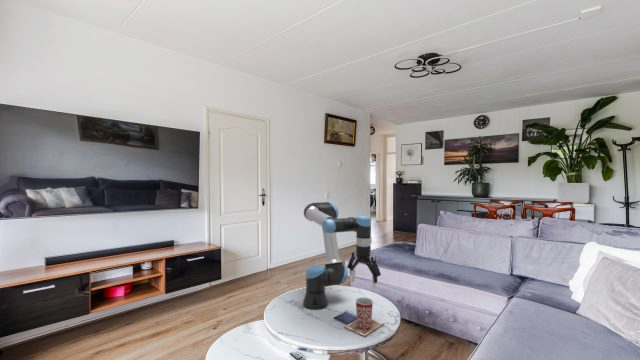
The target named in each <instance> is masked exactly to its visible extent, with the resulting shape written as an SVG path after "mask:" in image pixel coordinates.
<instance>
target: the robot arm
mask: <svg viewBox="0 0 640 360" xmlns="http://www.w3.org/2000/svg"><path fill="white" fill-rule="evenodd" d="M303 216H304V218H305V219H306V220H308V221H310V222H314V223H315V224H317V225H319V226H321V229H322V235H323V236H322V237H323V243H324V251H325V258H326V262H325V264H324V265H323V264H314V265H311V266H309V267H307V269H306V271H305V273H306V274H305V295H304V299H303V301H302V303H303V307H304V308H305V309H308V310H314V311H315V310H322V309H325V308H327V307H328V305H329V304H328V298H327V295H326V291H325V290H326V289H325V288H326V287H331V286H339V285H342V284H345V283H346V282H347V279H348V276H349V275H350V283H355V282H356V269H355V268H356V267H357V266H358V265H359V263H361V264H363V265H364V264H365V266H367V268H368V269H369V271H370V273H371V274H372V276H371V290H375V289H377V283H378V277H380V276H381V271H380V268H379V266H378V263H377V261H376V260H377V259H376V256H374V255H373V256H371V251H372V249H371V247H372V246H371V245H372V243H371V240H372V239H371V234H372V233H371V232H372V226H371V225H372V222H371V220H372V219H371V217H370V216H367V215H358V216H356V217H354V216H348V217H345V218H344V217H343V218H342V217H341V218H338V217H339V208H338V206H337V204H336V203H334V202H332V201H331V202H330V201H326V202H325V201H324V202H311V203H309V204H307V205H305V207H304V209H303ZM347 232H354V233H355V234H356V236H355V238H356V247H355V248H356V249H355V250H356V251H354V252H352V253H351V257H350V259H349V261H348V264H347V266H346V265H345V264H344V263H343V261H342V260H341V257H340V252H339V246H338V238H337V233H347ZM348 269H349V272H348ZM348 273H349V274H348Z"/></svg>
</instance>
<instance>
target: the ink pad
mask: <svg viewBox="0 0 640 360" xmlns="http://www.w3.org/2000/svg"><path fill="white" fill-rule="evenodd" d="M333 320H335V321H338V322H340V323H342V324H344V325H345V326H347V325H349V324H350V323H352V322H354V321H356V320H357V315H354V314H351V313H349V312H347V311H344V312H342V313H339V314H337V315H336V316H333Z"/></svg>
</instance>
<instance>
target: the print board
mask: <svg viewBox="0 0 640 360" xmlns="http://www.w3.org/2000/svg"><path fill="white" fill-rule="evenodd" d="M384 325H385V323H382V322H380V321H377V320H375V319H373V318H372V320H371V328H370V329H368V330H362V329H359V328H358V327H357V320H356V321H354V322H352V323H350V324H348V325H345V326H344V329H345V330H348V331H350V332H352V333H354V334H357V335H359V336H361V337H363V338H366V337H368V336H369V335H371V334H373V333H375V332H376V331H377V330H379V329H380V328H382V327H384Z"/></svg>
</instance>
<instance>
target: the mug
mask: <svg viewBox="0 0 640 360" xmlns="http://www.w3.org/2000/svg"><path fill="white" fill-rule="evenodd" d="M373 303H374V300H373V299H371V298H369V297H366V296H365V297H358V298H356V299H355V305H356V306H355V307H356V308H355V310H356V311H355V312H356V317H357V327H358V328H359V329H362V330H368V329H370V328H371V320H372V319H373V318H372V317H373Z"/></svg>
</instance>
